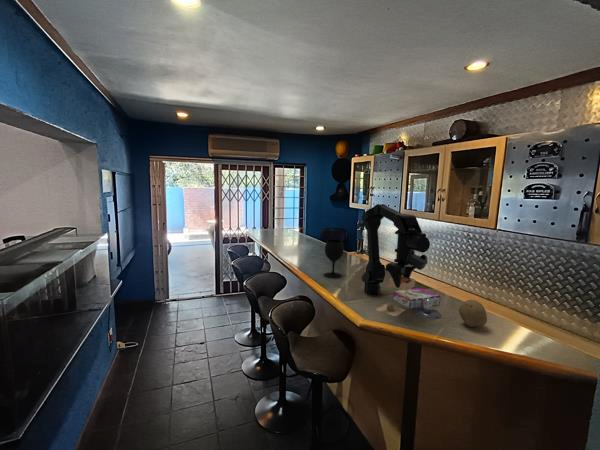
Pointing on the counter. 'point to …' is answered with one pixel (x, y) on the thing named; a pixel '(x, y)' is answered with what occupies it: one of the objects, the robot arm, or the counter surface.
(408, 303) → the candy bar box
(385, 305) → the stand
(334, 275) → the wine glass
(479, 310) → the natural sponge
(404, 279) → the wooden square frame
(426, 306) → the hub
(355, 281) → the counter surface
